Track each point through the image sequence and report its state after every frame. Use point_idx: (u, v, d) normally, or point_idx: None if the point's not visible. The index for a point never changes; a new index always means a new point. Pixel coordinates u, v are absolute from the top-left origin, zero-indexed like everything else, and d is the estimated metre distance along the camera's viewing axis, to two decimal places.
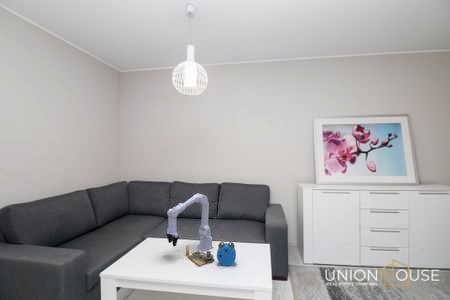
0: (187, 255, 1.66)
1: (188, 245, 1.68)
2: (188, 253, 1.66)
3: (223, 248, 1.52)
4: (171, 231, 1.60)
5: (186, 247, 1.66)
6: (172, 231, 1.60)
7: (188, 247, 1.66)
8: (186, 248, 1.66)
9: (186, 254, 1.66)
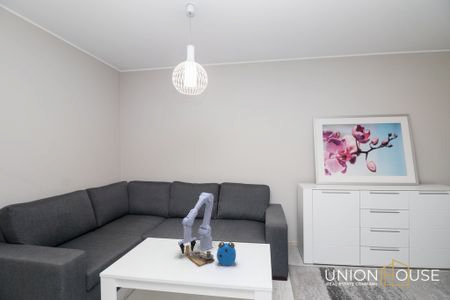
0: (187, 255, 1.66)
1: (188, 245, 1.68)
2: (188, 253, 1.66)
3: (223, 248, 1.52)
4: None
5: (186, 247, 1.66)
6: None
7: (188, 247, 1.66)
8: (186, 248, 1.66)
9: (186, 254, 1.66)
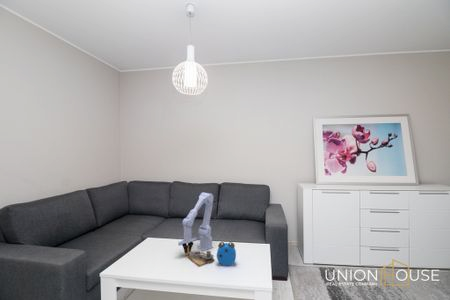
0: (187, 255, 1.66)
1: (188, 245, 1.68)
2: (188, 253, 1.66)
3: (223, 248, 1.52)
4: None
5: None
6: None
7: (188, 247, 1.66)
8: None
9: (186, 254, 1.66)
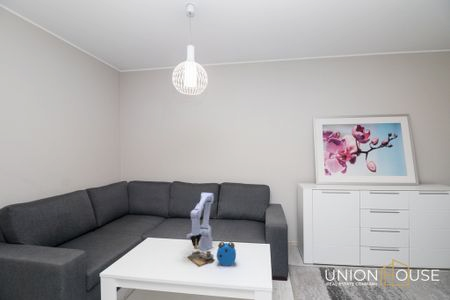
0: (195, 248, 1.62)
1: (196, 238, 1.64)
2: (196, 246, 1.62)
3: (223, 248, 1.52)
4: None
5: None
6: None
7: (196, 240, 1.62)
8: None
9: (194, 247, 1.62)
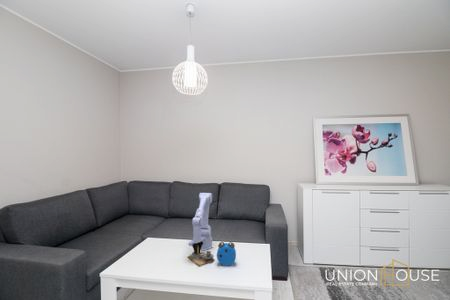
0: None
1: None
2: (198, 253, 1.61)
3: (223, 248, 1.52)
4: None
5: None
6: (193, 238, 1.61)
7: (198, 247, 1.61)
8: None
9: (196, 254, 1.61)
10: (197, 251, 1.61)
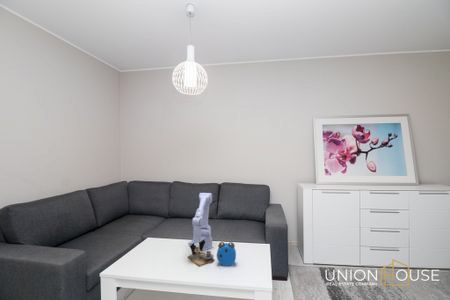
0: None
1: None
2: None
3: (223, 248, 1.52)
4: None
5: (196, 249, 1.61)
6: (193, 238, 1.61)
7: (198, 248, 1.62)
8: (196, 250, 1.61)
9: None
10: (197, 252, 1.61)
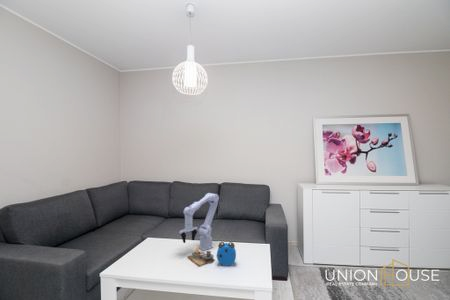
0: None
1: (197, 247, 1.63)
2: None
3: (223, 248, 1.52)
4: (185, 227, 1.69)
5: (196, 249, 1.61)
6: None
7: (198, 249, 1.61)
8: (196, 250, 1.61)
9: None
10: (197, 253, 1.61)
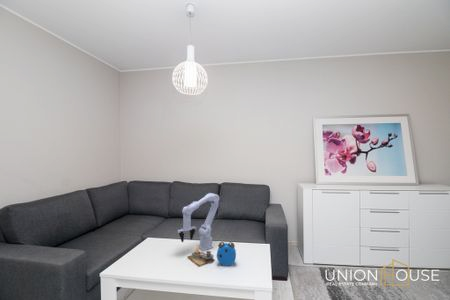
0: None
1: (197, 247, 1.63)
2: None
3: (223, 248, 1.52)
4: (183, 227, 1.70)
5: (196, 249, 1.61)
6: (183, 226, 1.70)
7: (198, 249, 1.61)
8: (196, 250, 1.61)
9: None
10: (197, 253, 1.61)
